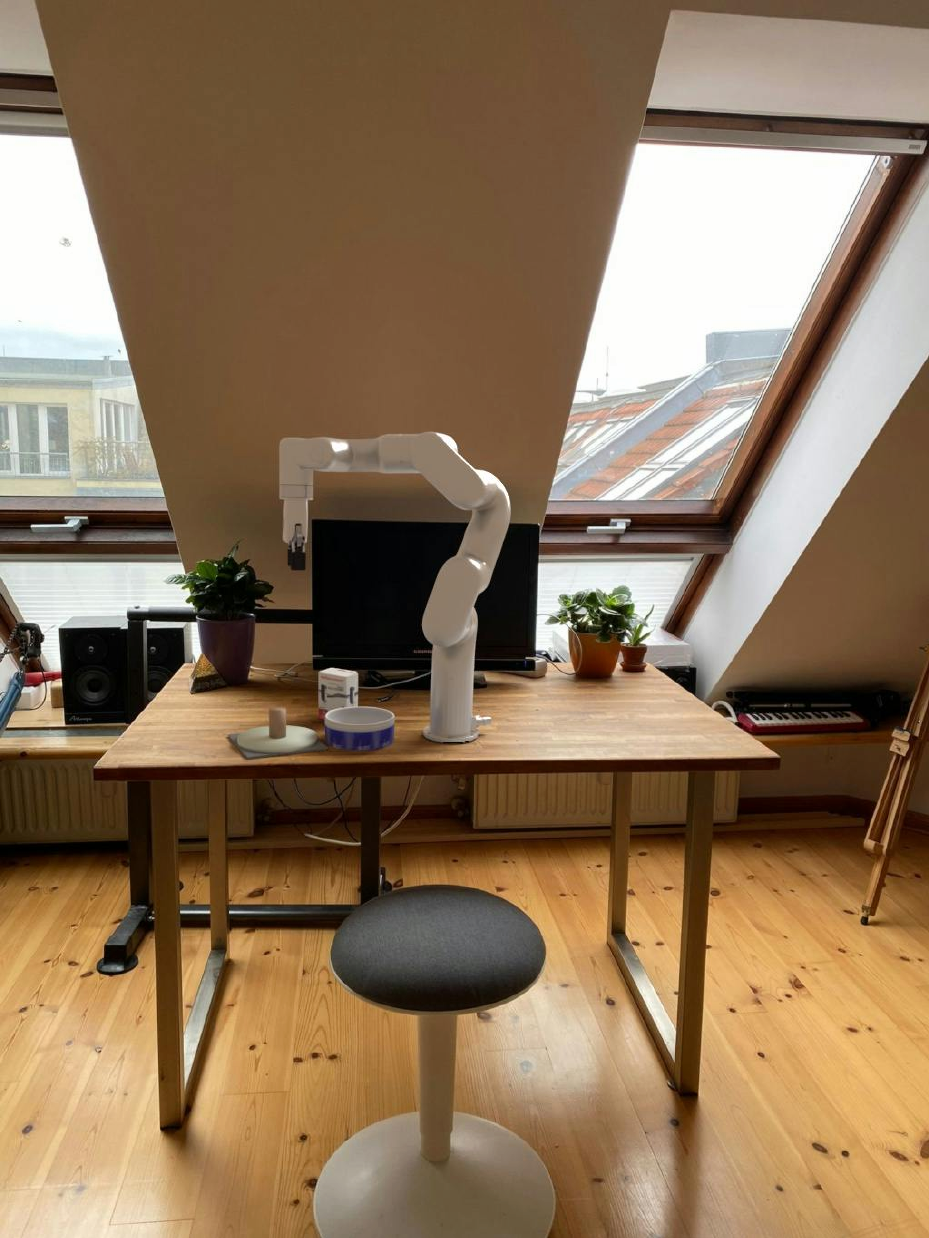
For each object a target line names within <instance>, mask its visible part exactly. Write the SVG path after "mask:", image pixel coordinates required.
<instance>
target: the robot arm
mask: <svg viewBox="0 0 929 1238" xmlns="http://www.w3.org/2000/svg"><path fill="white" fill-rule="evenodd" d="M278 460H279V461H278V463H279V465H278V466H279V472H278V473H279V500H284V501H283V511H282V513H283V514H282V516H283V518H282V519H283V520H282V541H283V542H284V543H286V544H288V546H287V547H288V548H287V565H288V566H289V567H290V570H292V571H305V570H306V563H307V561H306V558H307V557H306V555H307V554H306V545H305V544H306V543H307V542H308V529H309V527H308V526H309V501H313V500H314V486H313V485H314V471H316V472H317V471H318V472H328V473H329V472H330V473H331V472H332V473H364V472H365V473H374V472H375V473H380V474H421V476H423V477H424V478H425V479H426V480H427V481H428V482H429V483H430V484H431V485H432V486H433V487H434V489H436V490H437V491H438V492H439V493H440V494H442V495H443V497H445V498H446V500H448V501H449V502H450V503H451V505H454V506H455V507H456V508H458V509H460V510H465V511H472V514H471V518H470V521H469V523H468V526H467V527H466V530H465V532H464V535H463V539H462V541H461V544H460V546H459V549H458V551H457V553H456V555H454V556H452V557H450V558H449V559H447V560H446V561H445V563H444V564H443V565H442V566H441V568H440V569H439V572H438V574H437V577H436V579H435V582H434V585H433V588H432V590H431V593H430V596H429V598H428V601H427V604H426V607H425V610H424V612H423V615H422V620H421V622H422V623H421V627H422V632H423V634H424V637H425V638H426V640H427V641H428V642H429V643H430V644H431V645H432V651H431V652H432V653H431V670H430V672H431V674H430V675H431V679H430V708H429V710H430V713H429V715H430V716H429V717H430V718H429V725H426V726H425V727H424V728H423V730H422V735H423V737H425V739H428V741H429V740H430V741H433V742H437V743H443V742H463V743H466V742H465V741H469V742H472V741H474V739H475V740H477V738H478V737H479V730H478V729H477V728H479V727H480V726H488V725H491V724H492V718H491V717H490V716H482V717H481V716H480V715H474V714H473V703H474V701H473V699H474V678H475V677H474V674H475V673H474V670H475V654H476V652H475V651H476V641H477V633H478V623H479V621H478V620H479V619H478V614H477V611H476V608H475V607H474V606H475V604H476V601H477V598H478V596H479V595H480V594H481V593H483V592H484V591H485V590H486V589H487V588H488V586H489V584H490V581H491V578H492V575H493V572H494V569H495V567H496V563H497V560H498V558H499V556H500V552H501V549H502V547H503V542H504V540H505V538H506V535H507V533H508V529H509V525H510V521H511V516H512V515H511V514H512V513H511V511H512V510H511V509H512V507H511V501H510V497H509V493H508V492H507V490H506V488H505V486H504V485H503V483H501V481H500V480H499V479H498V478H497V477H496V476H494V475H493V474H492V473H490V472H489V471H487V470H484V469H475V468H474V467H473V466H472V465H470V463H468V462H467V461H466V460H465V458H463V457H462V456H461V455H460V454H459V449H458V446H457V443H456V442H455V440H454V439H453V438H452V437H451V436H449V435H447V434H444V433H440V432H437V431H435V432H434V431H424V432H422V433H404V434H403V433H398V434H397V433H394V434H393V433H387V434H382V435H380V436H378V437H376V438H374V437H373V438H363V439H362V438H361V439H360V438H359V439H358V438H357V439H352V438H351V439H343V438H342V439H341V438H333V437H326V436H325V437H323V436H322V437H321V436H320V437H311V438H302V437H284V438H282V439H281V440H280V441H279V459H278Z"/></svg>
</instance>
